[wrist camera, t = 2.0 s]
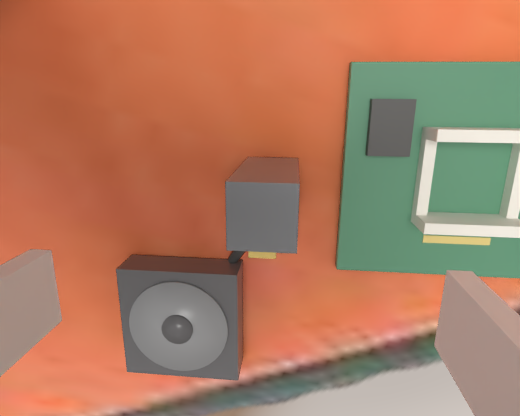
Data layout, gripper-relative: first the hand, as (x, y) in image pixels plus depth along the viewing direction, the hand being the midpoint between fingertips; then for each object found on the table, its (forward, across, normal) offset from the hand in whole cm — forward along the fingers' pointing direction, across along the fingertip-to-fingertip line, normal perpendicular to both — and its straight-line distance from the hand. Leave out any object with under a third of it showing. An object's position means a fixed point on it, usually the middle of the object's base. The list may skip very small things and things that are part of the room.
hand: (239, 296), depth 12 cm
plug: (+18, 0, 0) cm, 18 cm away
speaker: (+18, -8, -12) cm, 23 cm away
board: (+18, +14, +1) cm, 23 cm away
